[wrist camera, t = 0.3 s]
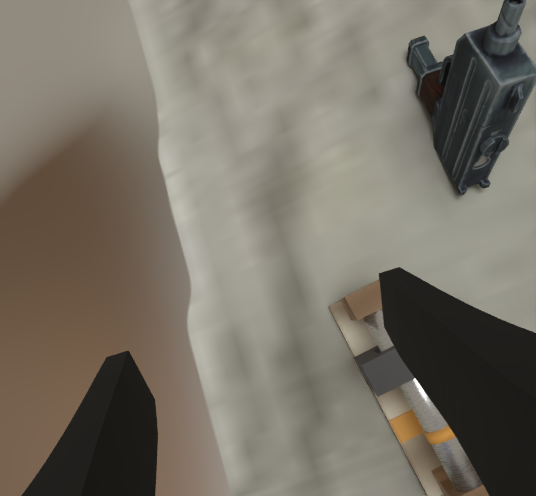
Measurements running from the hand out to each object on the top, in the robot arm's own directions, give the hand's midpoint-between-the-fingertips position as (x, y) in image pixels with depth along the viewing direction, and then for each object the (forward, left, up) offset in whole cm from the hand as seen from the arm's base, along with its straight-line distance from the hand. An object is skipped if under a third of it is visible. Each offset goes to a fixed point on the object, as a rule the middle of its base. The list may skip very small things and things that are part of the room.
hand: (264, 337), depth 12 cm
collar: (-6, -6, -27) cm, 28 cm away
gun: (+11, -21, -30) cm, 38 cm away
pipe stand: (-9, -6, -29) cm, 31 cm away
